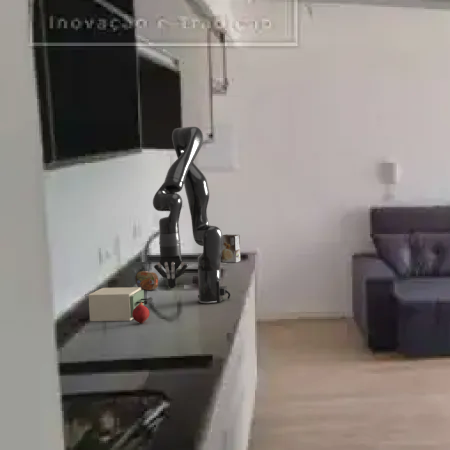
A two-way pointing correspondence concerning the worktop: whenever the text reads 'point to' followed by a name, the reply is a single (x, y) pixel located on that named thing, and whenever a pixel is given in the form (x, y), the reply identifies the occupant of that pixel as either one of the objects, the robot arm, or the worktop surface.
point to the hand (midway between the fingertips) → (172, 287)
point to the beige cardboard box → (111, 304)
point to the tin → (147, 280)
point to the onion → (140, 313)
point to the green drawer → (138, 300)
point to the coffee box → (231, 248)
